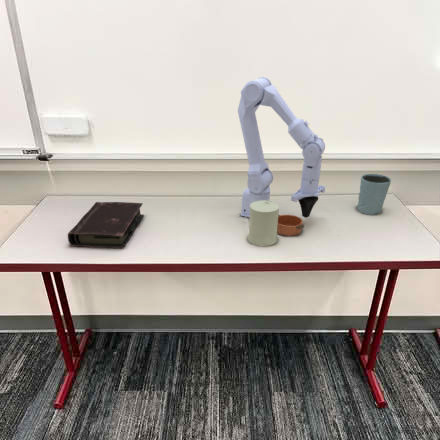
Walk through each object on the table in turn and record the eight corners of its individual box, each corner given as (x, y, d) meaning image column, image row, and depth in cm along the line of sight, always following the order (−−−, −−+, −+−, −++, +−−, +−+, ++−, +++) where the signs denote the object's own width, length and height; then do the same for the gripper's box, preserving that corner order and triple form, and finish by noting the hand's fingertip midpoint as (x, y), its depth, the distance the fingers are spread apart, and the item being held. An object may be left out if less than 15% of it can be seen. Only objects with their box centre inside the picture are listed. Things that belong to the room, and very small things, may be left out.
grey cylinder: (350, 209, 156) (355, 177, 150) (364, 202, 162) (371, 171, 155) (374, 217, 150) (381, 185, 143) (389, 210, 156) (396, 178, 149)
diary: (68, 246, 133) (65, 232, 130) (96, 214, 153) (93, 200, 150) (126, 249, 131) (124, 234, 128) (146, 216, 151) (144, 202, 149)
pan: (284, 220, 148) (285, 211, 146) (310, 232, 141) (311, 222, 139) (265, 227, 144) (265, 218, 142) (291, 240, 136) (292, 230, 134)
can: (279, 235, 139) (282, 200, 132) (273, 248, 132) (276, 212, 125) (252, 231, 141) (254, 197, 134) (244, 243, 134) (246, 208, 127)
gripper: (304, 186, 131) (299, 225, 139) (334, 176, 139) (328, 214, 146) (288, 179, 136) (284, 218, 144) (317, 170, 143) (312, 208, 151)
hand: (305, 216), depth 145 cm, fingers closed
